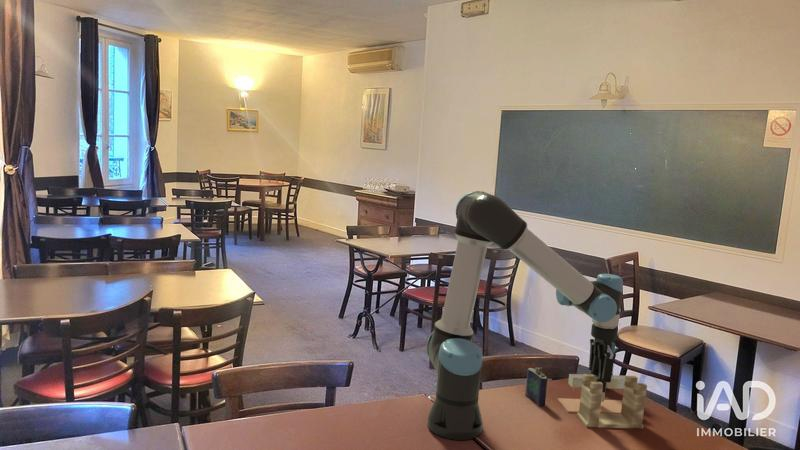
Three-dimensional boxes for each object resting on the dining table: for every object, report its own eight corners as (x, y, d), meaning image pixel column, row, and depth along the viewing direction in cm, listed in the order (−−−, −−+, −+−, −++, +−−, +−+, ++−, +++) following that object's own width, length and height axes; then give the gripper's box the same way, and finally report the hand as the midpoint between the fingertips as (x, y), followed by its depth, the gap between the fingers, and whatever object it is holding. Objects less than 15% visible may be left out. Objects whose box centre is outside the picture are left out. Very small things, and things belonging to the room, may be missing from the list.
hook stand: (586, 427, 165) (591, 383, 163) (576, 415, 172) (581, 374, 170) (643, 428, 166) (648, 385, 165) (631, 417, 173) (636, 375, 171)
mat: (567, 412, 174) (568, 411, 173) (557, 399, 182) (557, 398, 182) (634, 414, 175) (634, 413, 175) (621, 401, 184) (621, 400, 184)
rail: (571, 387, 176) (572, 377, 175) (568, 383, 179) (569, 374, 178) (628, 388, 177) (629, 379, 177) (624, 384, 180) (625, 375, 180)
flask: (523, 394, 185) (526, 362, 183) (531, 393, 186) (534, 361, 184) (539, 407, 176) (543, 373, 175) (548, 406, 177) (551, 373, 176)
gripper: (629, 334, 168) (620, 410, 171) (605, 317, 184) (597, 387, 187) (604, 333, 167) (595, 409, 170) (582, 316, 183) (575, 387, 186)
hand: (596, 398), depth 179 cm, fingers closed on rail, 3 cm apart
